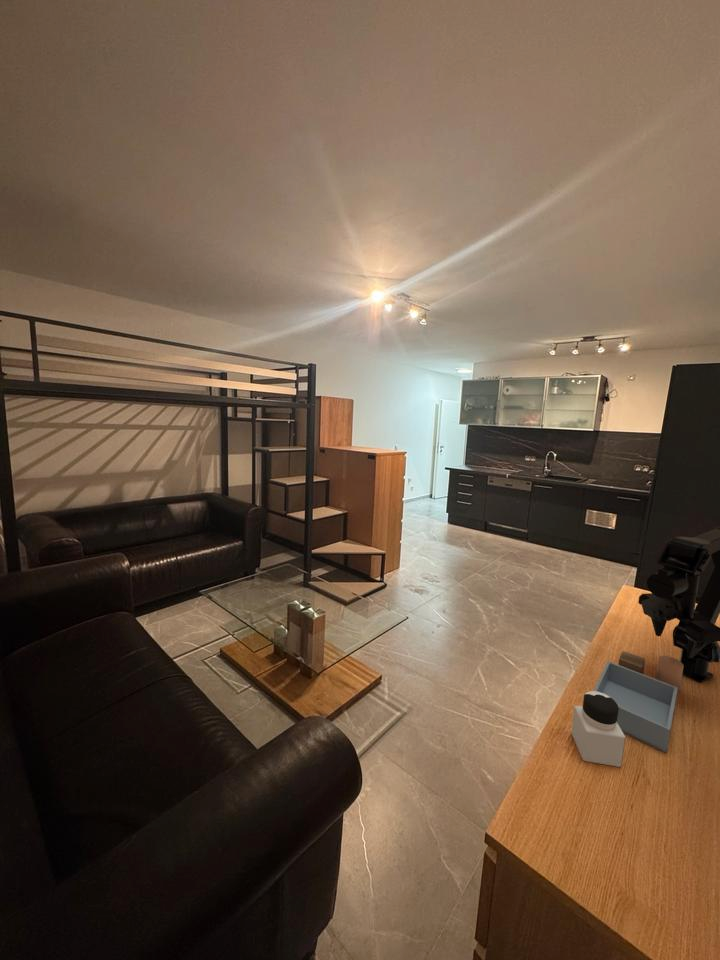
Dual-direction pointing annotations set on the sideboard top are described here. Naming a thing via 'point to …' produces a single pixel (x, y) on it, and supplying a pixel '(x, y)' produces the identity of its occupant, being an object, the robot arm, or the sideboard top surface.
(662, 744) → the tote
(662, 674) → the terracotta cylinder
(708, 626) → the robot arm
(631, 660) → the walnut cube
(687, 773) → the sideboard top surface
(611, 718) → the medicine bottle
